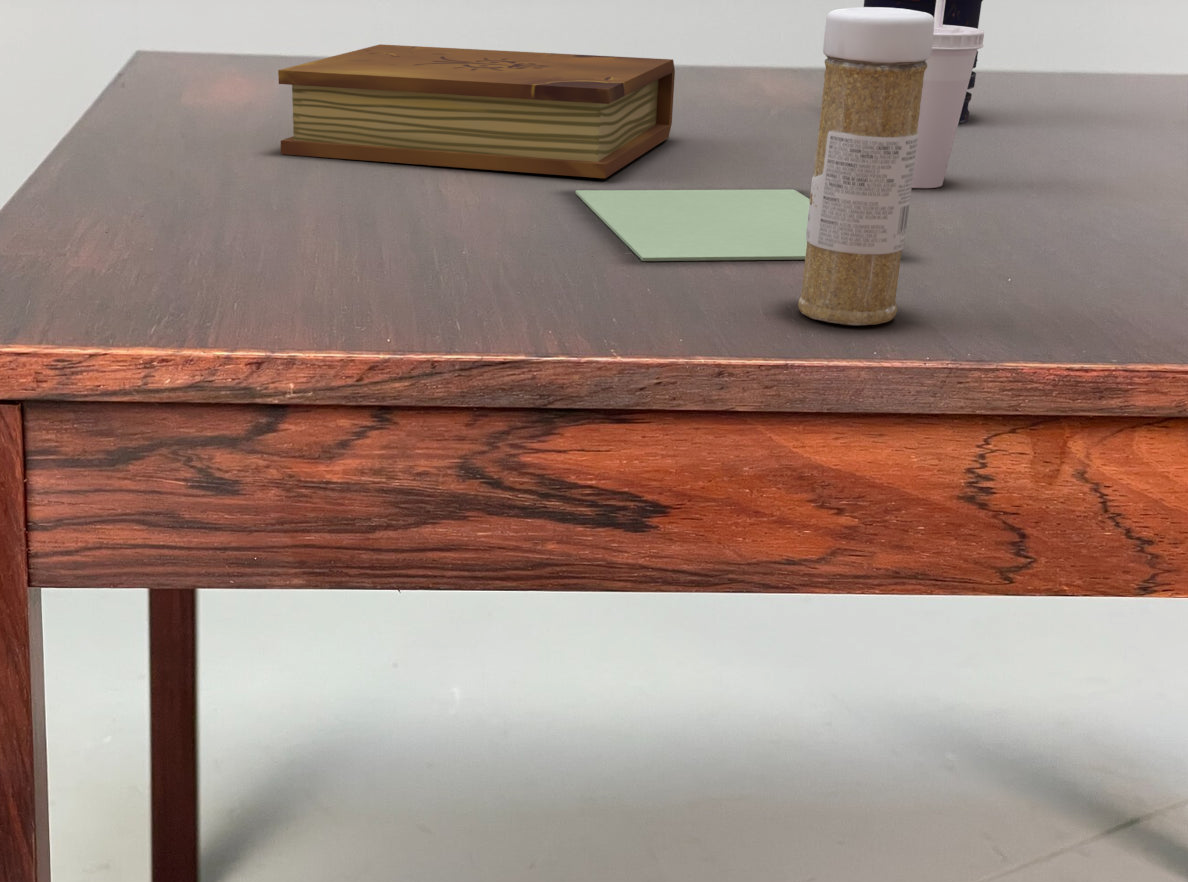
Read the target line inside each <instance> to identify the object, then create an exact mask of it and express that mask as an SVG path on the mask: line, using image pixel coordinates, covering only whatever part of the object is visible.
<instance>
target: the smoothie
mask: <svg viewBox="0 0 1188 882" xmlns="http://www.w3.org/2000/svg"><path fill="white" fill-rule="evenodd" d="M945 1H946V0H936V7H935V15H934V34H933V43H932V52H931V57H930V58H929V59H927V60H926V61H925V62H926V63H927V68H926V70H925V72H924V78H923V88H922V96H921V103H920V114H919V121H918V129H917V131H918V141H917V148H916V156H915V164H914V172H913V180H912V188H911V189H933V188H940V187H942V186H943V183H944V180H945V177H946V172H947V169H948V164H949V161H950V157H951V153H952V149H953V145H954V141H955V137H956V135H957V130H958V126H959V124H960V123H959V119H960V115H961V111H962V107H963V103H964V100H965V96H966V92H968V89H967V88H968V84H969V80H970V77H971V73H972V71H973V69H974V68H973V65H974V61H975V57H976V53H977V51H978V50H980V49H982V48H984V44H983V43H984V38H985V37H984V36H985V31H984V30H982V29H980V28H978V29H977V28H971V27H963V26H953V25H942V24H943V16H944V8H945Z"/></svg>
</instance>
